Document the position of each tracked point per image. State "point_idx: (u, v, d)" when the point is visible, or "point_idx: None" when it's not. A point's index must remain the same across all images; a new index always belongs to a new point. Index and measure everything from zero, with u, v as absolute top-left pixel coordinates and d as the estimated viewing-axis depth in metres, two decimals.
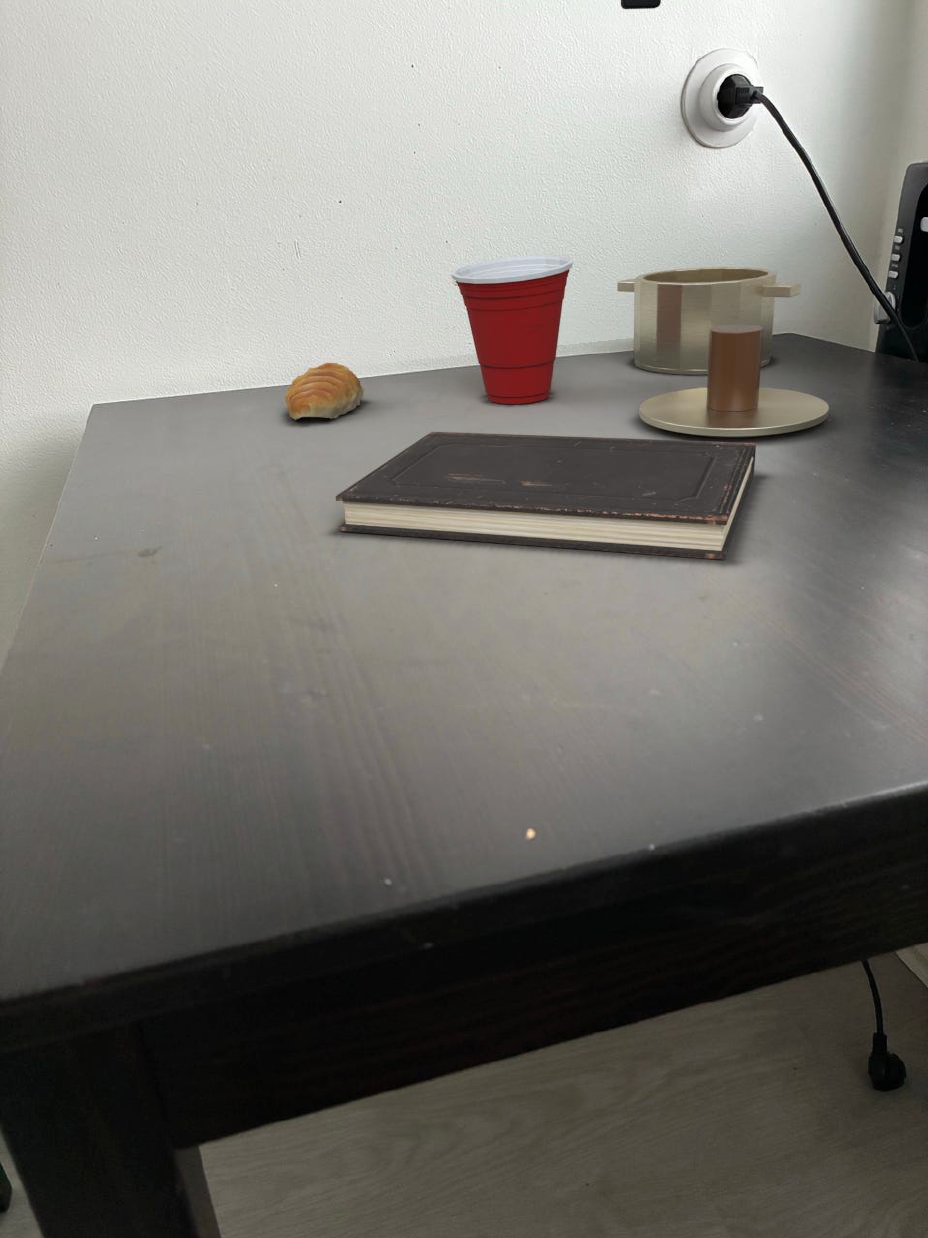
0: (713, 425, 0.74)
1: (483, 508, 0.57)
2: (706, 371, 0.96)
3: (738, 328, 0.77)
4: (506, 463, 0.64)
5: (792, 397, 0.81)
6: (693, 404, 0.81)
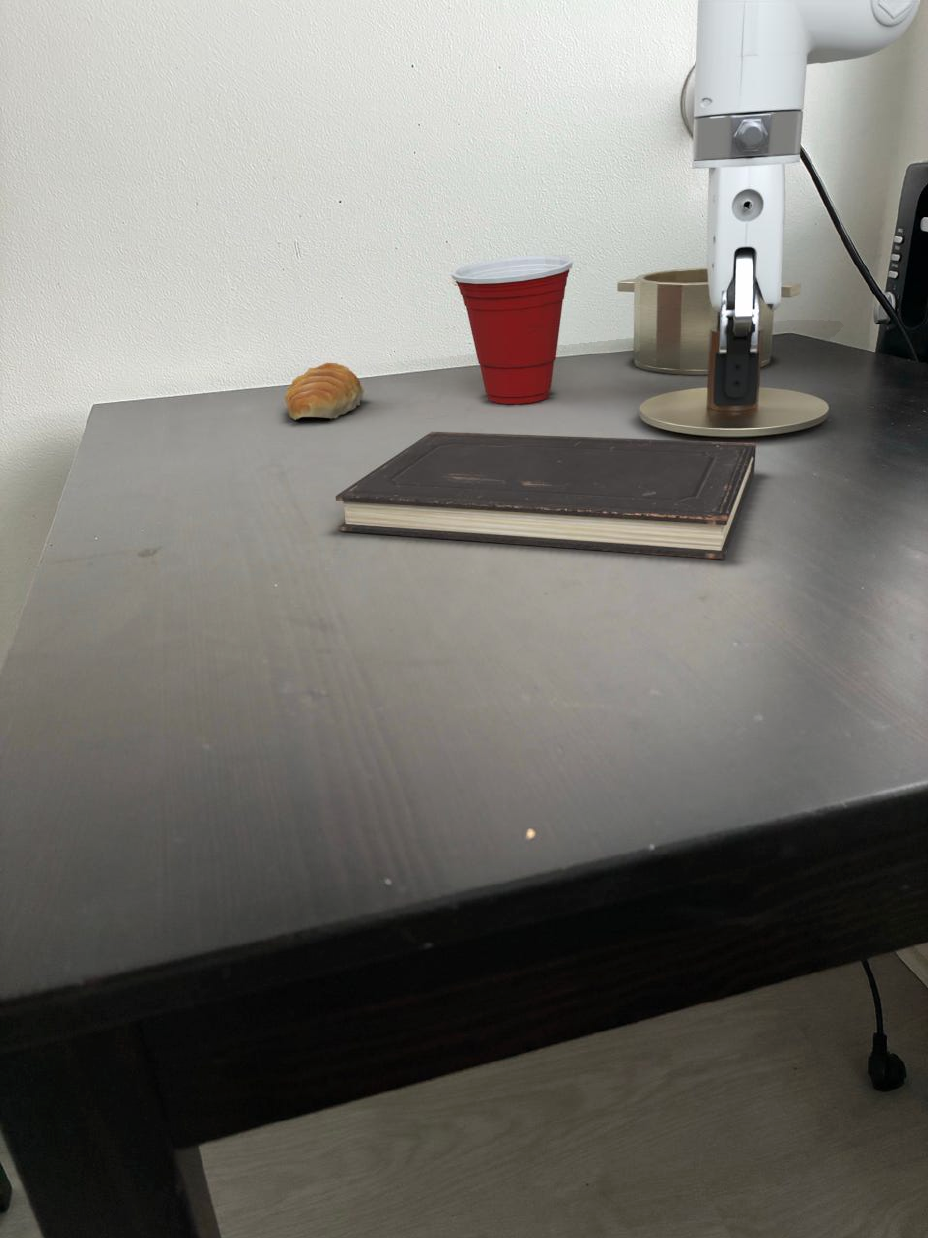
0: (713, 425, 0.74)
1: (483, 508, 0.57)
2: (706, 371, 0.96)
3: None
4: (506, 463, 0.64)
5: (792, 397, 0.81)
6: (693, 404, 0.81)
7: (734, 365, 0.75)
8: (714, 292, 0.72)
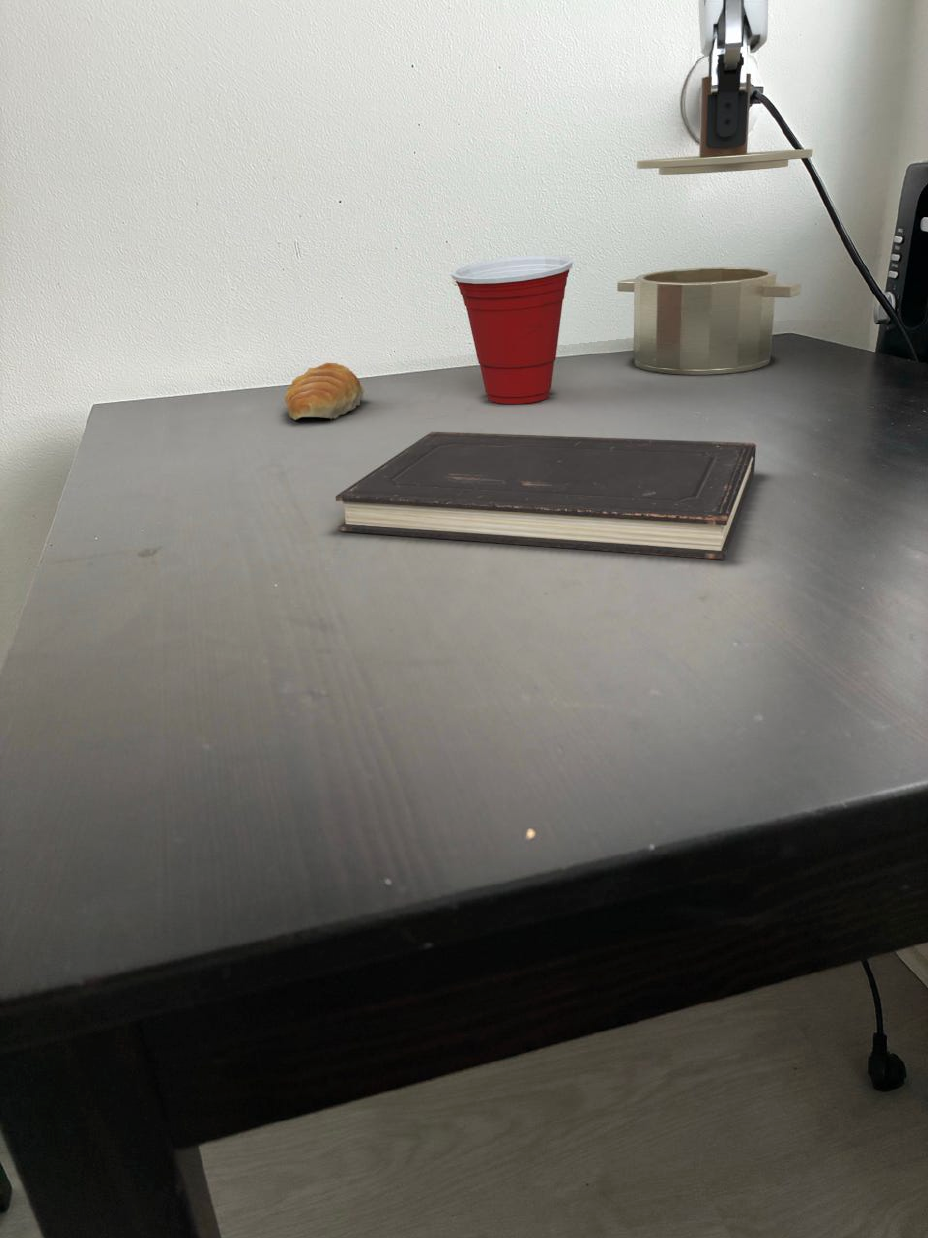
0: None
1: (483, 508, 0.57)
2: (706, 371, 0.96)
3: None
4: (506, 463, 0.64)
5: None
6: (687, 157, 0.87)
7: (725, 104, 0.81)
8: (706, 26, 0.78)
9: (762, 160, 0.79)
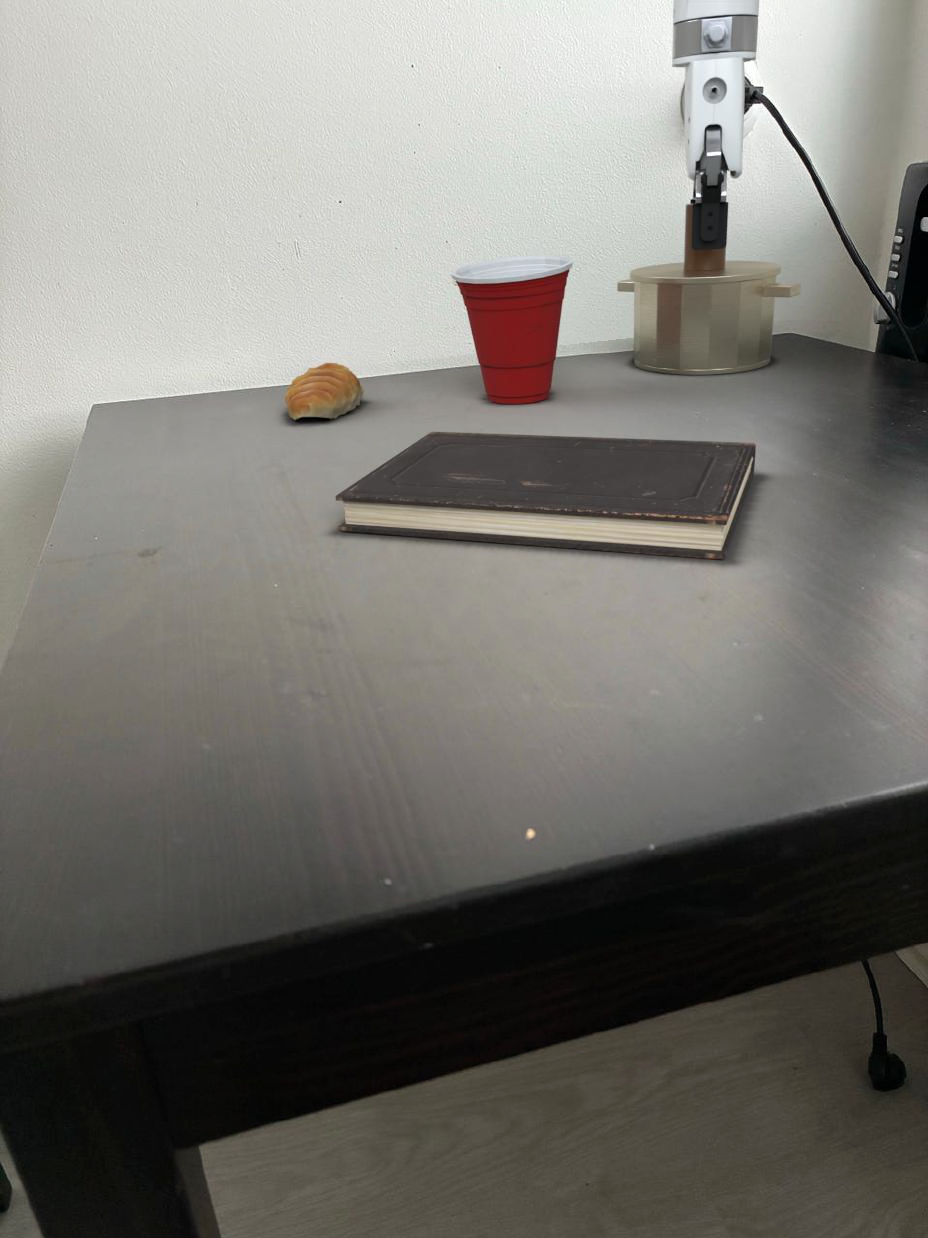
0: (688, 276, 0.94)
1: (483, 508, 0.57)
2: (706, 371, 0.96)
3: None
4: (506, 463, 0.64)
5: (753, 263, 1.00)
6: (673, 269, 1.00)
7: (708, 213, 0.91)
8: (689, 162, 0.91)
9: (735, 281, 0.93)
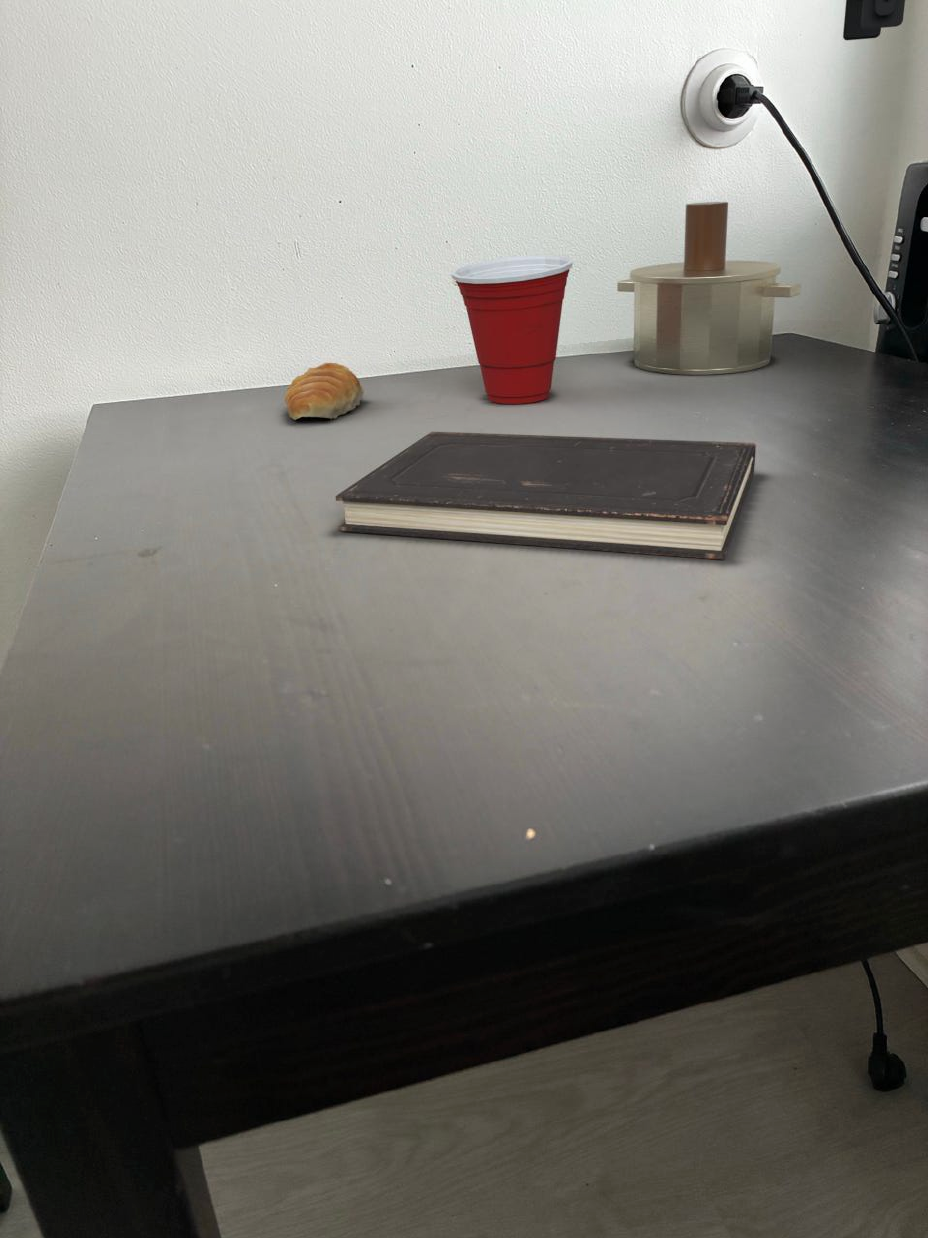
0: (688, 276, 0.94)
1: (483, 508, 0.57)
2: (706, 371, 0.96)
3: (708, 203, 0.96)
4: (506, 463, 0.64)
5: (753, 263, 1.00)
6: (673, 269, 1.00)
7: None
8: None
9: (735, 281, 0.93)
